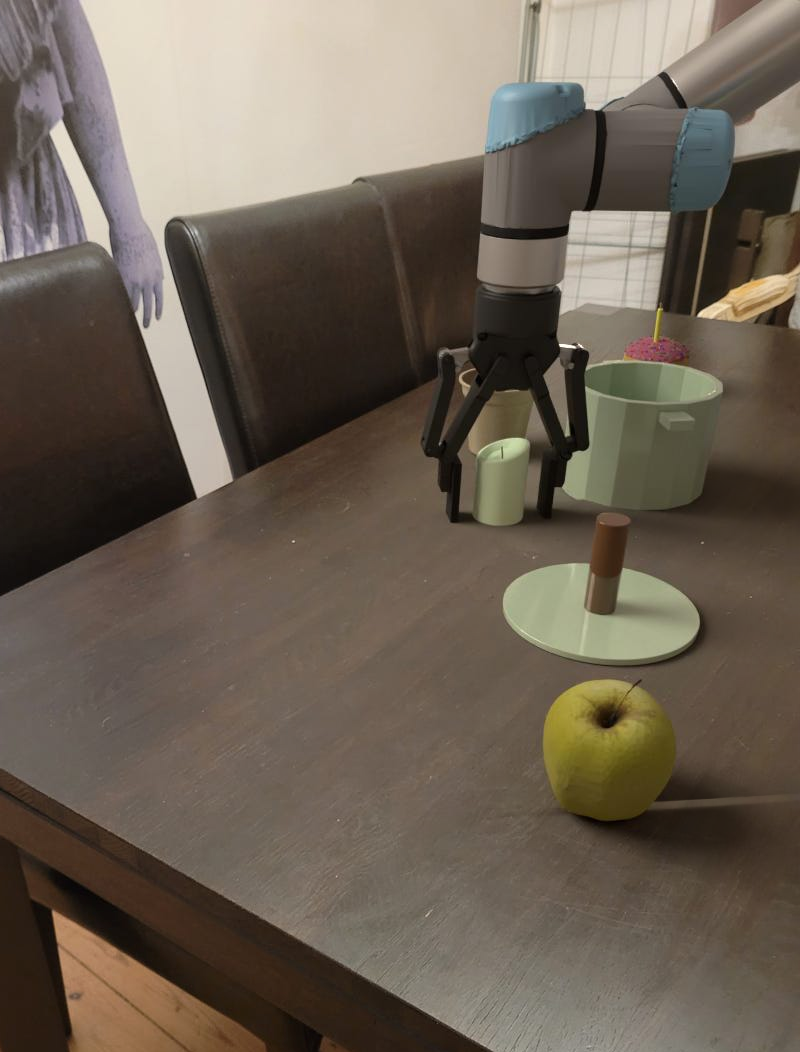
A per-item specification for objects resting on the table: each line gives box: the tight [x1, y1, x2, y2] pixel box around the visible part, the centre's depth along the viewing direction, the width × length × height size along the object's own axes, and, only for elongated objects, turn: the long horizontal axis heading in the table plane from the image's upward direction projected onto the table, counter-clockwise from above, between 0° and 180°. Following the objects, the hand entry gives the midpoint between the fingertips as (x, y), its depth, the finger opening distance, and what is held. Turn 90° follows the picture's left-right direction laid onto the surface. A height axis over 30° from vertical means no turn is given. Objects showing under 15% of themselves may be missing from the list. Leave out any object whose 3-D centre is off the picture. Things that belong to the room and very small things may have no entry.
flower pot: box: [458, 367, 535, 456], centre depth 111 cm, size 9×9×9 cm
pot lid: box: [501, 512, 701, 667], centre depth 77 cm, size 16×16×9 cm
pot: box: [561, 359, 724, 511], centre depth 100 cm, size 15×20×12 cm
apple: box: [542, 678, 677, 822], centre depth 58 cm, size 8×8×10 cm
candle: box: [472, 438, 531, 527], centre depth 94 cm, size 5×5×8 cm
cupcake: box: [622, 302, 691, 367], centre depth 128 cm, size 9×8×12 cm
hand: (497, 517), depth 96 cm, fingers open, 9 cm apart
